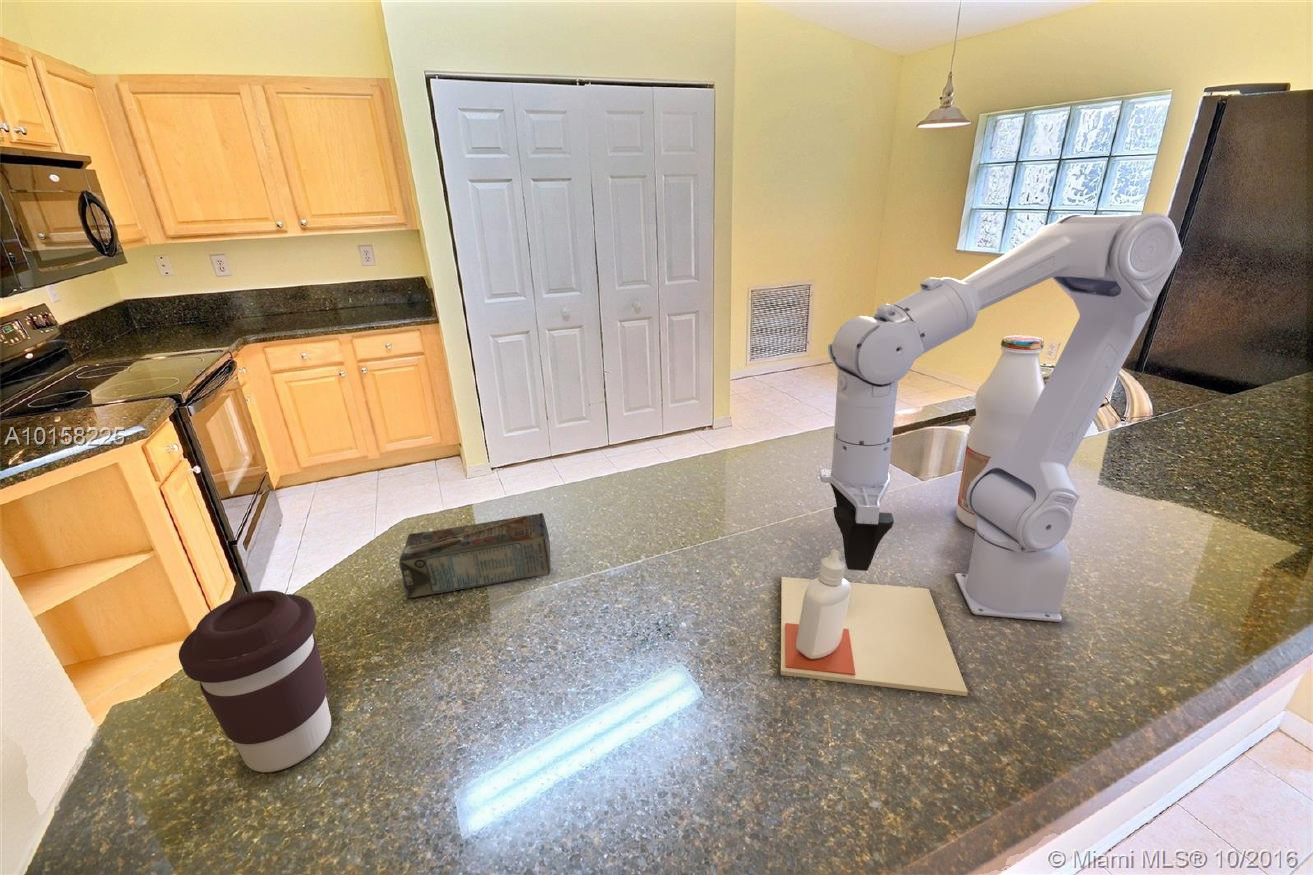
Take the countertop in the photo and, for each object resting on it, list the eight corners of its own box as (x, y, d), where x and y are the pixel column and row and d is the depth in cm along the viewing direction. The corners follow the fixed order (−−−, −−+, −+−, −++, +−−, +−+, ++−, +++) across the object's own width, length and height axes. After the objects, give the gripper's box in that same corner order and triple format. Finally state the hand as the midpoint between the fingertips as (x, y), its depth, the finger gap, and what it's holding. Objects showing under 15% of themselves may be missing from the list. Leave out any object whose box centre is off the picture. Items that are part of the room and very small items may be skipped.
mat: (927, 592, 72) (928, 587, 72) (967, 696, 57) (968, 690, 57) (781, 580, 76) (781, 575, 76) (780, 675, 60) (780, 669, 60)
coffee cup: (265, 705, 60) (219, 584, 54) (363, 696, 60) (327, 574, 55) (202, 795, 50) (140, 658, 45) (319, 782, 51) (271, 646, 46)
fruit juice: (965, 534, 84) (997, 345, 74) (947, 504, 93) (974, 332, 83) (1036, 538, 83) (1079, 345, 73) (1011, 507, 91) (1046, 331, 81)
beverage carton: (415, 568, 83) (406, 527, 80) (550, 547, 86) (545, 507, 84) (405, 601, 75) (395, 557, 73) (553, 576, 79) (548, 534, 77)
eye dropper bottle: (851, 657, 61) (871, 562, 57) (801, 661, 60) (817, 564, 56) (833, 630, 65) (851, 538, 61) (786, 633, 64) (801, 540, 60)
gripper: (818, 412, 67) (812, 515, 72) (827, 462, 54) (819, 584, 59) (882, 413, 66) (872, 518, 70) (908, 465, 52) (893, 590, 57)
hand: (852, 549), depth 64 cm, fingers open, 7 cm apart
